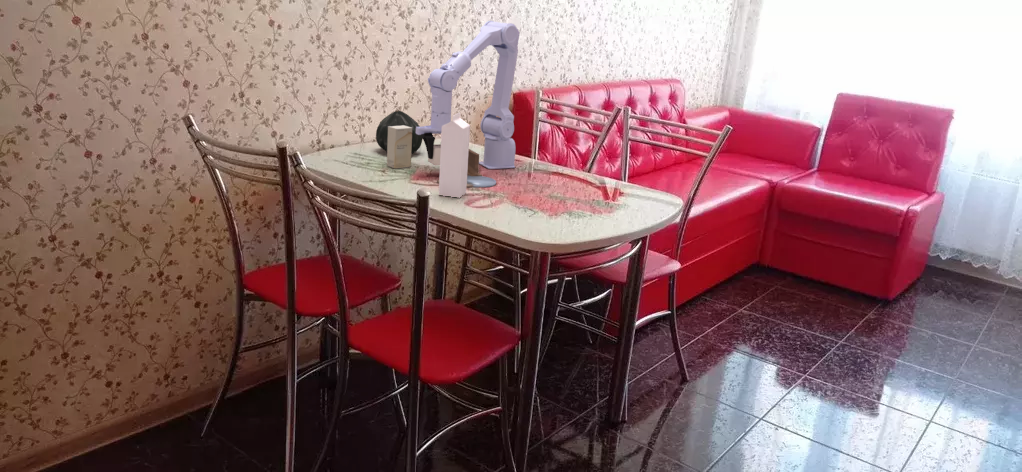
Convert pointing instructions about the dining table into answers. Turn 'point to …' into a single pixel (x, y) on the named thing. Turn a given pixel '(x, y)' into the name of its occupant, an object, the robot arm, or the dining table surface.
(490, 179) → the light blue plate
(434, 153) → the letter cube
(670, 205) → the dining table surface
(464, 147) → the milk
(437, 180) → the cork mat
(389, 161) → the skincare box
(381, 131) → the squash
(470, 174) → the brown upright panel
